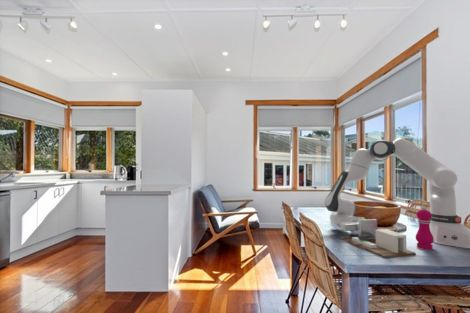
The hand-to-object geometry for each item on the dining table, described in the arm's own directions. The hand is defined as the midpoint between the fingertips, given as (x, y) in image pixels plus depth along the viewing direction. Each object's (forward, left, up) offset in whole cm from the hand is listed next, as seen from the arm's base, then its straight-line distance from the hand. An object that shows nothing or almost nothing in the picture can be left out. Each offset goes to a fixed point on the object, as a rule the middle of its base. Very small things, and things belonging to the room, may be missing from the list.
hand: (367, 229), depth 142 cm
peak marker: (-2, +9, -4) cm, 10 cm away
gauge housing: (-14, +7, -5) cm, 17 cm away
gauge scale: (-3, +10, -5) cm, 11 cm away
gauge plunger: (-8, +6, -5) cm, 11 cm away
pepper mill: (-23, -11, -7) cm, 26 cm away
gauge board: (-7, +6, -6) cm, 11 cm away
